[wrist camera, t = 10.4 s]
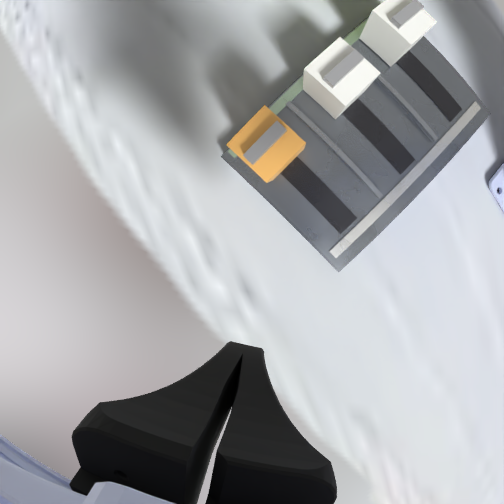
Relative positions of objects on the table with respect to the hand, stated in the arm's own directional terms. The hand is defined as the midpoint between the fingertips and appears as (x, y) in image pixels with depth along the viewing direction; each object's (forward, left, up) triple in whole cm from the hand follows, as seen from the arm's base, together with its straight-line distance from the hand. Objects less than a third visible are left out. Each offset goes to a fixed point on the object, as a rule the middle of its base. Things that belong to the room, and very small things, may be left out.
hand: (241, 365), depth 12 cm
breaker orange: (+6, -6, -9) cm, 12 cm away
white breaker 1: (+6, -12, -9) cm, 15 cm away
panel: (+3, -12, -10) cm, 16 cm away
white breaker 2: (+6, -17, -9) cm, 20 cm away
